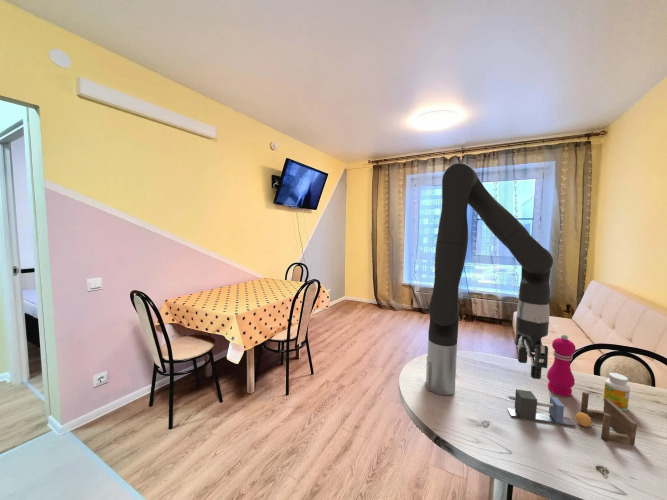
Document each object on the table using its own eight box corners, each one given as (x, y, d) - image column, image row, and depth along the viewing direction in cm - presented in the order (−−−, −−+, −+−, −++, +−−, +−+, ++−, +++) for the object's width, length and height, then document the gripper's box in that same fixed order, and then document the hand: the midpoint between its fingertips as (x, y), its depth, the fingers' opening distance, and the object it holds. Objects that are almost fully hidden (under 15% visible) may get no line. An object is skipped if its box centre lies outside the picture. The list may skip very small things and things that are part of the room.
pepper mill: (578, 399, 88) (585, 340, 86) (553, 396, 90) (558, 338, 87) (564, 385, 95) (570, 331, 93) (541, 383, 97) (546, 329, 94)
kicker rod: (519, 416, 79) (521, 397, 79) (514, 407, 83) (515, 389, 82) (562, 423, 77) (564, 403, 76) (555, 413, 80) (556, 394, 80)
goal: (603, 440, 72) (606, 416, 71) (579, 413, 82) (581, 391, 81) (634, 445, 70) (638, 421, 69) (606, 417, 80) (608, 395, 79)
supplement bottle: (599, 402, 87) (602, 373, 86) (608, 397, 89) (611, 369, 88) (622, 413, 82) (626, 382, 81) (630, 408, 84) (634, 378, 83)
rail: (511, 417, 80) (511, 415, 80) (507, 410, 83) (507, 408, 83) (575, 427, 76) (575, 425, 76) (569, 419, 79) (569, 417, 79)
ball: (579, 428, 76) (580, 416, 76) (571, 419, 79) (572, 408, 79) (594, 430, 75) (595, 419, 75) (586, 421, 78) (587, 410, 78)
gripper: (508, 307, 85) (505, 356, 87) (528, 324, 72) (524, 382, 73) (535, 309, 84) (531, 359, 85) (562, 327, 70) (557, 386, 72)
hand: (528, 369), depth 79 cm, fingers open, 8 cm apart
